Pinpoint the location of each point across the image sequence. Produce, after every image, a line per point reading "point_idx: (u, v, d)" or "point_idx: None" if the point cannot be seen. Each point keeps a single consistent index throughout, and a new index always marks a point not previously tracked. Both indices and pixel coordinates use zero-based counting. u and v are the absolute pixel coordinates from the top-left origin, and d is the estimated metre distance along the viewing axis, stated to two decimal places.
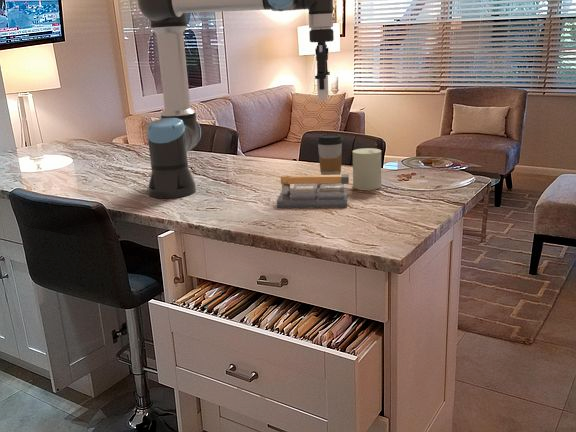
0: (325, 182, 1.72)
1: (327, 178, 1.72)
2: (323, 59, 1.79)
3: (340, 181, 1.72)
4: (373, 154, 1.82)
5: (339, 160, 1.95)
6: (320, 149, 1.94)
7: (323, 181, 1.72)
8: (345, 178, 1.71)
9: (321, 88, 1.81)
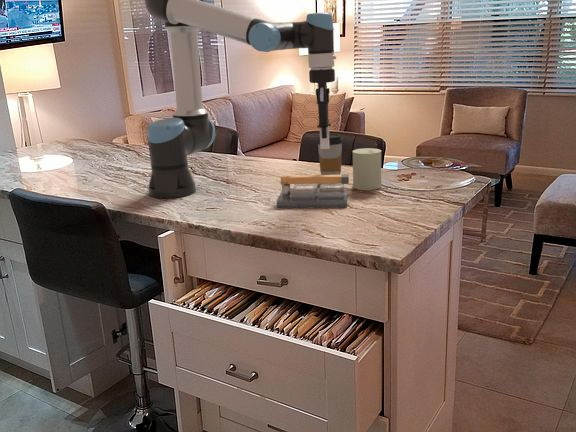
0: (325, 182, 1.72)
1: (327, 178, 1.72)
2: (325, 109, 1.71)
3: (340, 181, 1.72)
4: (373, 154, 1.82)
5: (339, 160, 1.95)
6: (320, 149, 1.94)
7: (323, 181, 1.72)
8: (345, 178, 1.71)
9: (323, 137, 1.77)
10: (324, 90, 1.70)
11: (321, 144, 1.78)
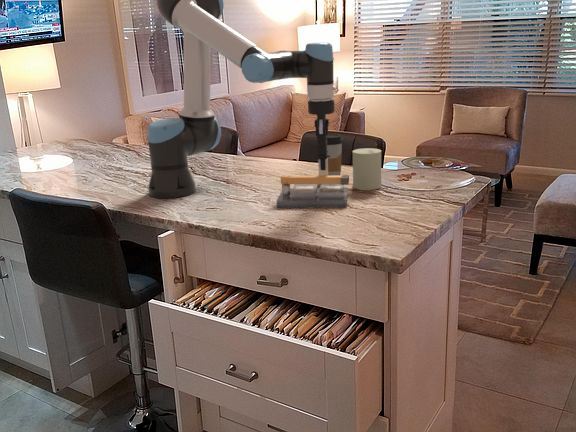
0: (325, 183, 1.72)
1: (327, 179, 1.71)
2: (324, 142, 1.66)
3: (340, 182, 1.71)
4: (373, 154, 1.82)
5: (339, 160, 1.95)
6: None
7: (323, 182, 1.72)
8: (344, 179, 1.70)
9: (322, 169, 1.72)
10: (323, 122, 1.65)
11: None
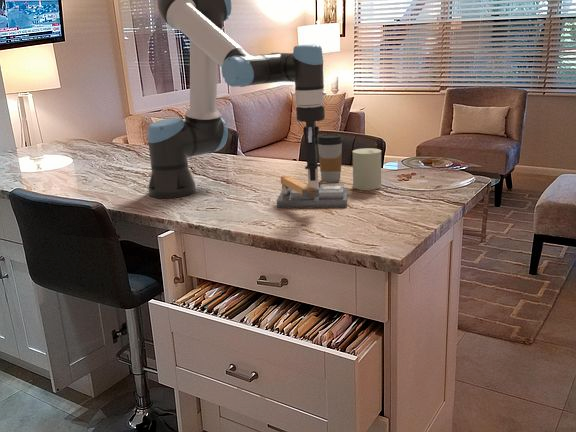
0: (298, 191, 1.64)
1: (298, 187, 1.63)
2: (313, 151, 1.56)
3: None
4: (373, 154, 1.82)
5: (339, 160, 1.95)
6: (320, 149, 1.94)
7: (297, 190, 1.65)
8: (303, 191, 1.58)
9: (312, 179, 1.61)
10: (313, 130, 1.55)
11: None
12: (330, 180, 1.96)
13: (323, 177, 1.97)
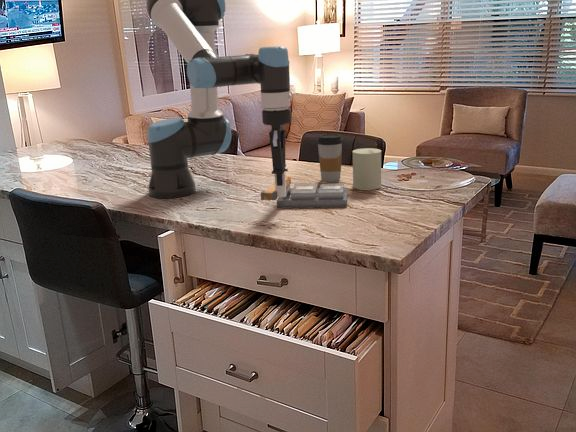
0: None
1: None
2: (279, 155, 1.52)
3: None
4: (373, 154, 1.82)
5: (339, 160, 1.95)
6: (320, 149, 1.94)
7: None
8: None
9: (279, 184, 1.57)
10: (278, 133, 1.51)
11: None
12: (330, 180, 1.96)
13: (323, 177, 1.97)
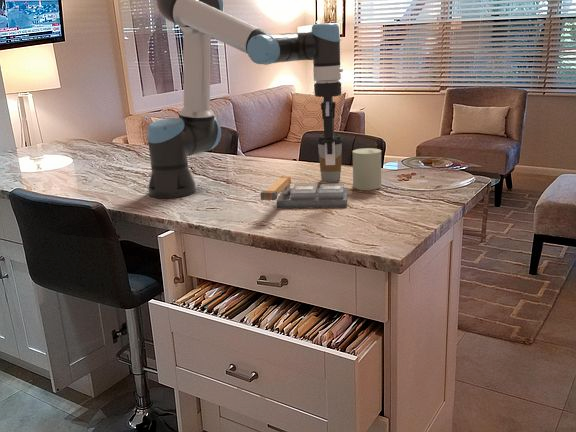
0: None
1: None
2: (330, 124, 1.63)
3: None
4: (373, 154, 1.82)
5: (339, 160, 1.95)
6: (320, 149, 1.94)
7: None
8: None
9: (329, 153, 1.69)
10: (330, 104, 1.63)
11: (326, 160, 1.71)
12: (330, 180, 1.96)
13: (323, 177, 1.97)
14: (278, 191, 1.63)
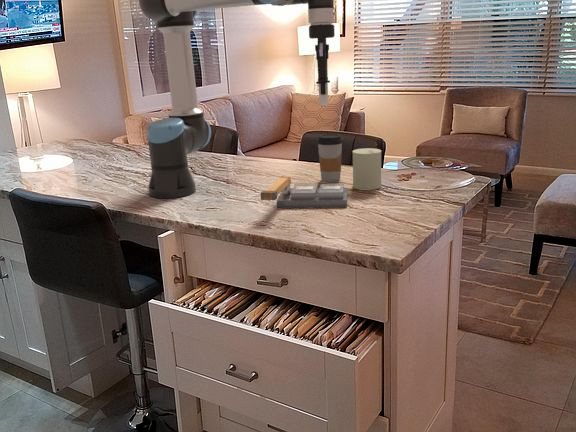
0: None
1: None
2: (324, 64, 1.73)
3: None
4: (373, 154, 1.82)
5: (339, 160, 1.95)
6: (320, 149, 1.94)
7: None
8: None
9: (322, 93, 1.78)
10: (323, 45, 1.72)
11: (320, 101, 1.80)
12: (330, 180, 1.96)
13: (323, 177, 1.97)
14: (278, 191, 1.63)
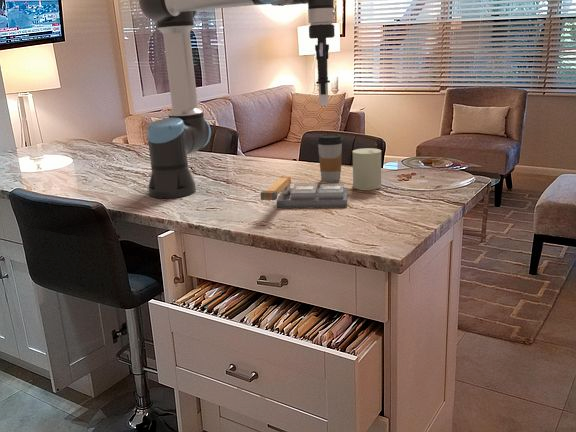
0: None
1: None
2: (324, 64, 1.73)
3: None
4: (373, 154, 1.82)
5: (339, 160, 1.95)
6: (320, 149, 1.94)
7: None
8: None
9: (322, 93, 1.78)
10: (323, 45, 1.72)
11: (320, 101, 1.80)
12: (330, 180, 1.96)
13: (323, 177, 1.97)
14: (278, 191, 1.63)
